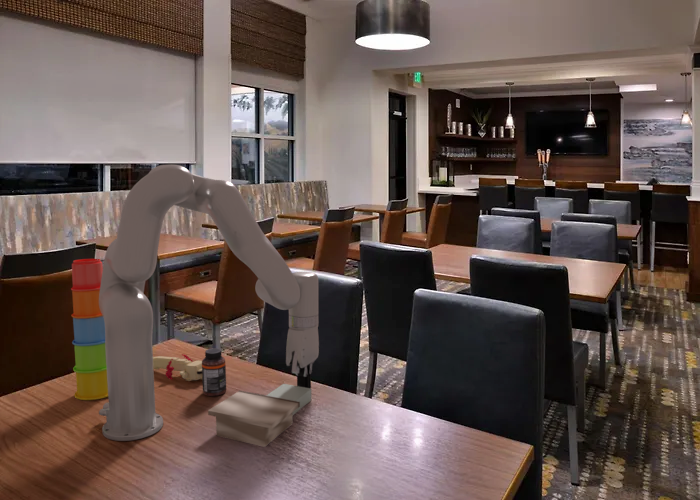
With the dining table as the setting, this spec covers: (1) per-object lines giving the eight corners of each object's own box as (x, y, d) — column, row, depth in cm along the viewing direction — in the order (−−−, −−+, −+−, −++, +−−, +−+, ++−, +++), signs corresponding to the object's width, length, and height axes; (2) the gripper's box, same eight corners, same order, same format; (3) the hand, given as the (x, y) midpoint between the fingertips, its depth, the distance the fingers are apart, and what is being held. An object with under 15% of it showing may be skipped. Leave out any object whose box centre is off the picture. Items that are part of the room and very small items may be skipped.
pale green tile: (258, 413, 133) (258, 401, 132) (283, 394, 144) (283, 383, 143) (287, 419, 130) (287, 407, 129) (311, 400, 141) (311, 388, 140)
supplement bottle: (208, 387, 148) (206, 346, 147) (229, 388, 148) (228, 347, 146) (199, 396, 142) (197, 353, 141) (221, 397, 142) (220, 354, 140)
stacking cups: (66, 401, 139) (57, 263, 134) (85, 385, 149) (77, 256, 144) (108, 401, 139) (100, 263, 134) (124, 386, 149) (117, 257, 144)
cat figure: (126, 378, 158) (197, 385, 148) (123, 348, 157) (194, 353, 147) (152, 367, 167) (220, 373, 157) (149, 338, 166) (217, 342, 156)
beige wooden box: (240, 412, 133) (239, 390, 132) (299, 425, 127) (299, 401, 126) (208, 434, 122) (208, 410, 121) (272, 449, 116) (271, 423, 115)
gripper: (304, 312, 151) (304, 377, 154) (275, 326, 137) (276, 397, 140) (329, 315, 148) (329, 381, 151) (302, 330, 135) (303, 402, 137)
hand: (303, 389), depth 145 cm, fingers closed
